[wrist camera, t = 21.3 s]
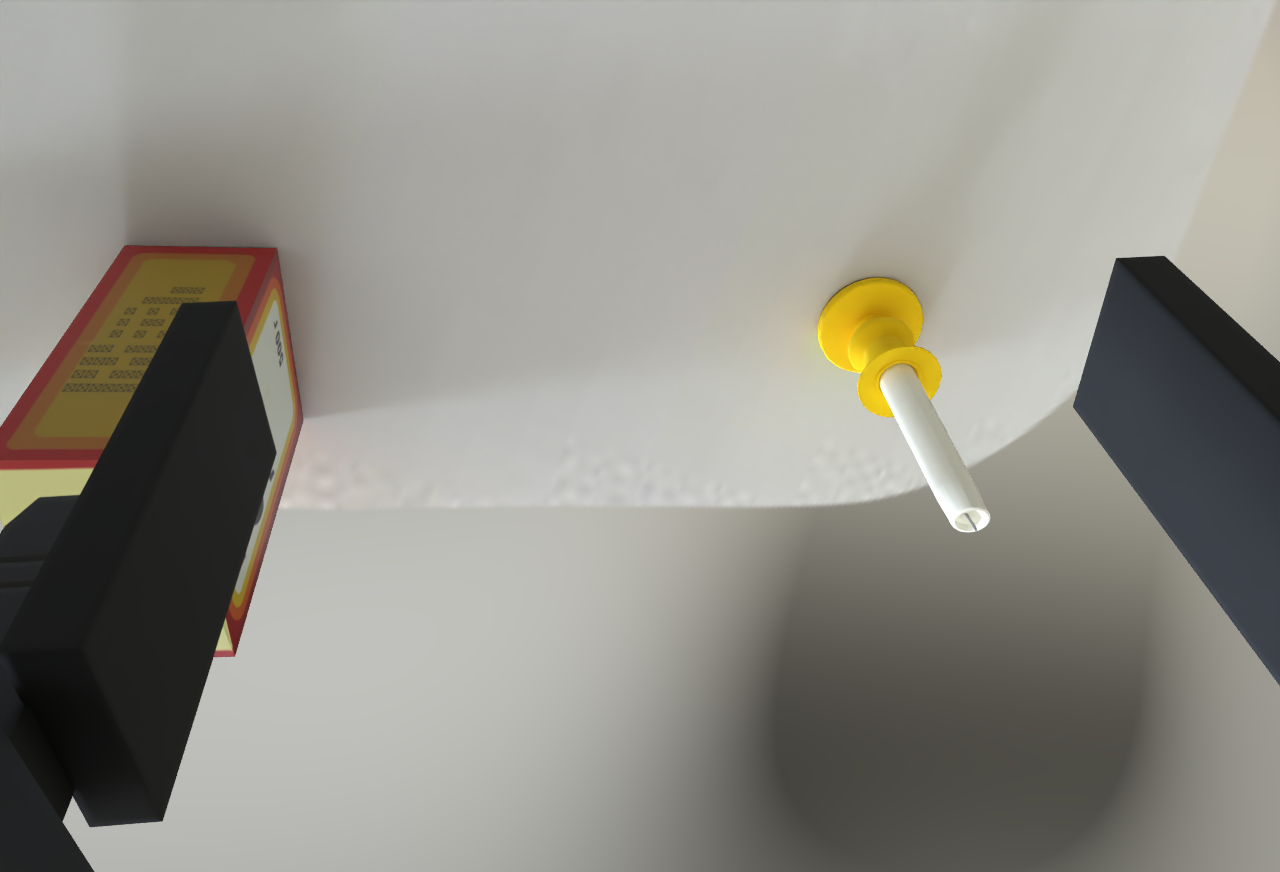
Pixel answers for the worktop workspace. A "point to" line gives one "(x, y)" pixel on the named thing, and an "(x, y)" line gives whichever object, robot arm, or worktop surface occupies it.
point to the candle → (900, 383)
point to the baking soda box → (115, 363)
